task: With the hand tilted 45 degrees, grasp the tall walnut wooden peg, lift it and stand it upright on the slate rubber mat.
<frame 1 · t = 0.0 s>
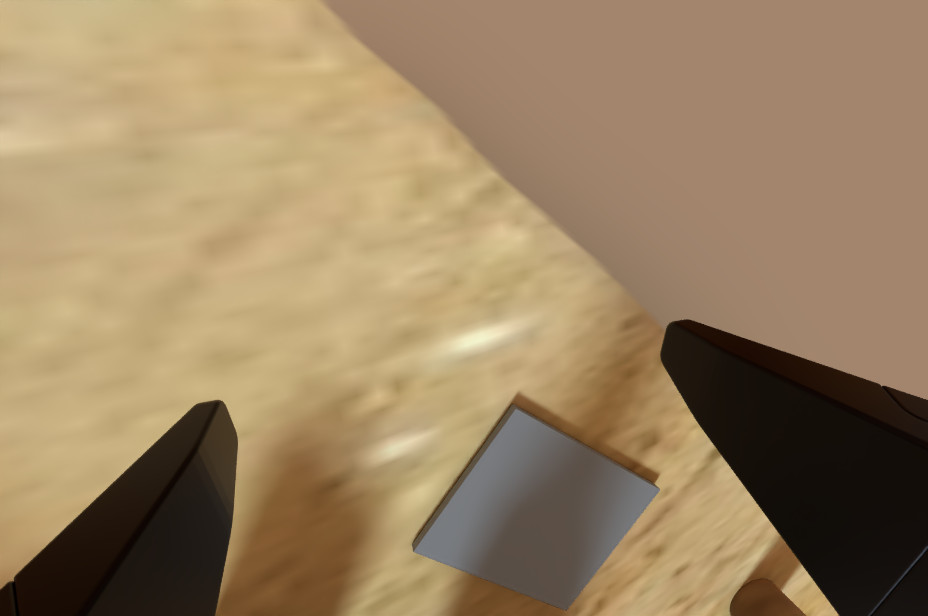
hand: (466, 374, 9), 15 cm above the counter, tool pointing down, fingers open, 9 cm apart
walnut peg: (752, 600, 38), on the counter
slate mat: (539, 512, 31), on the counter
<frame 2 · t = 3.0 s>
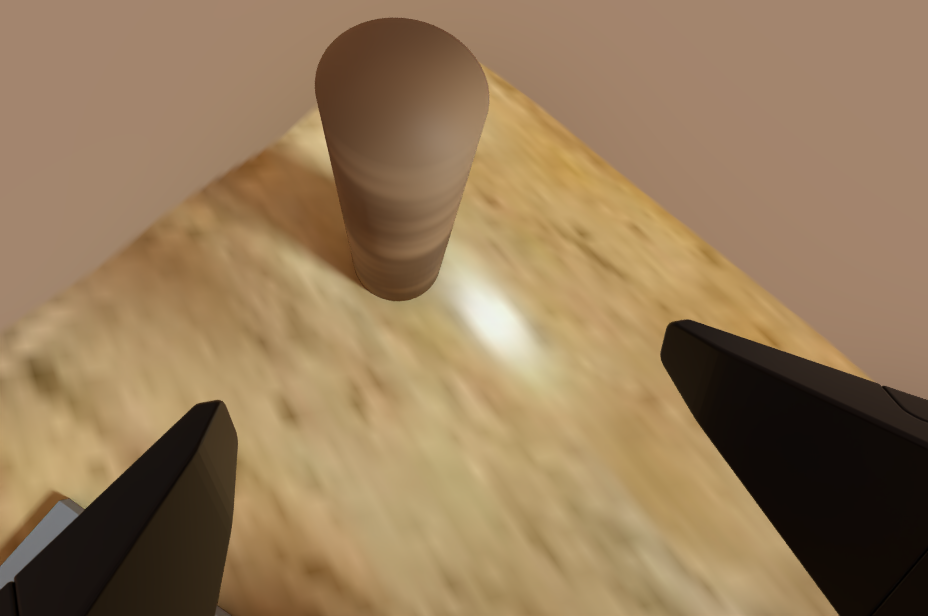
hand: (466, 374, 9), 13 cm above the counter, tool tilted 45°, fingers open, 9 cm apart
walnut peg: (397, 259, 24), on the counter
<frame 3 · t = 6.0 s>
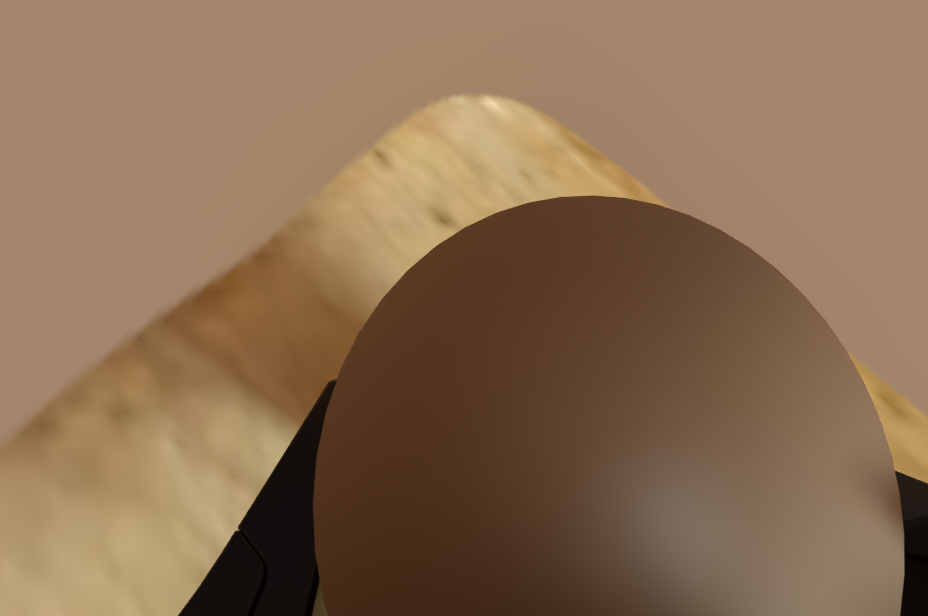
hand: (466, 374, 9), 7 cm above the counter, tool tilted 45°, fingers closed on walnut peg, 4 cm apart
walnut peg: (442, 438, 15), on the counter, touching gripper
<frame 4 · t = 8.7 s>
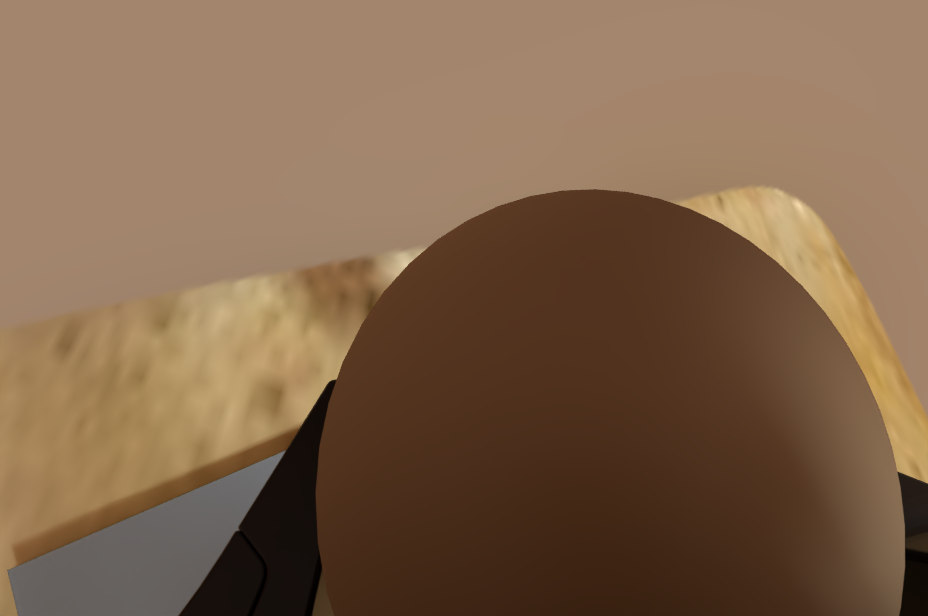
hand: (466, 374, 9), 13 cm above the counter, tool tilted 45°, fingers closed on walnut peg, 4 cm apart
walnut peg: (443, 436, 15), point 6 cm above the counter, touching gripper
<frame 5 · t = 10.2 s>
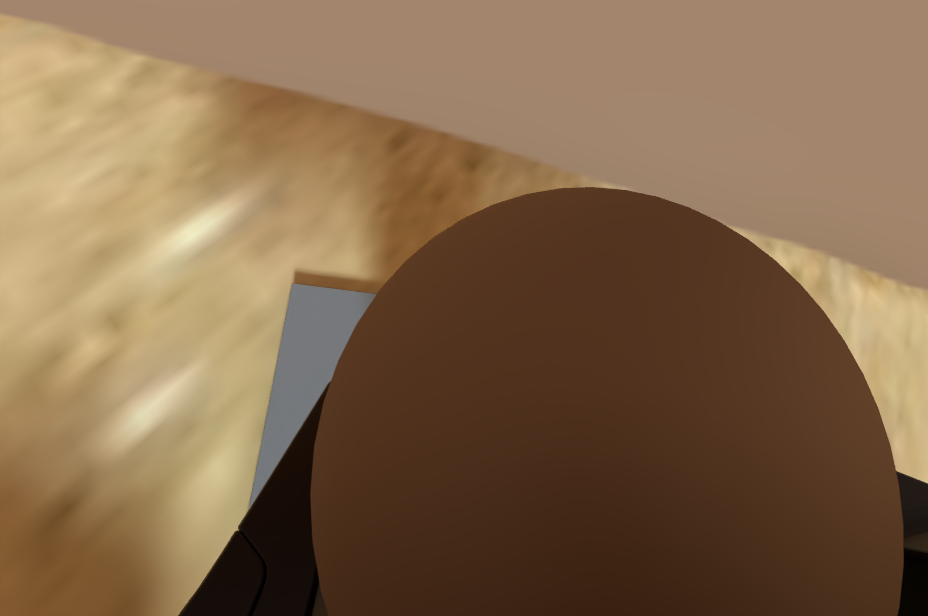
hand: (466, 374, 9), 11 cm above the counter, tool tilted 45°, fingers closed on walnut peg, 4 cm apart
walnut peg: (442, 436, 15), point 4 cm above the counter, touching gripper
slate mat: (431, 432, 19), on the counter
when the fingers open (8 cm above the counter, at t = 11.4 s): walnut peg drops 1 cm, resting on slate mat.
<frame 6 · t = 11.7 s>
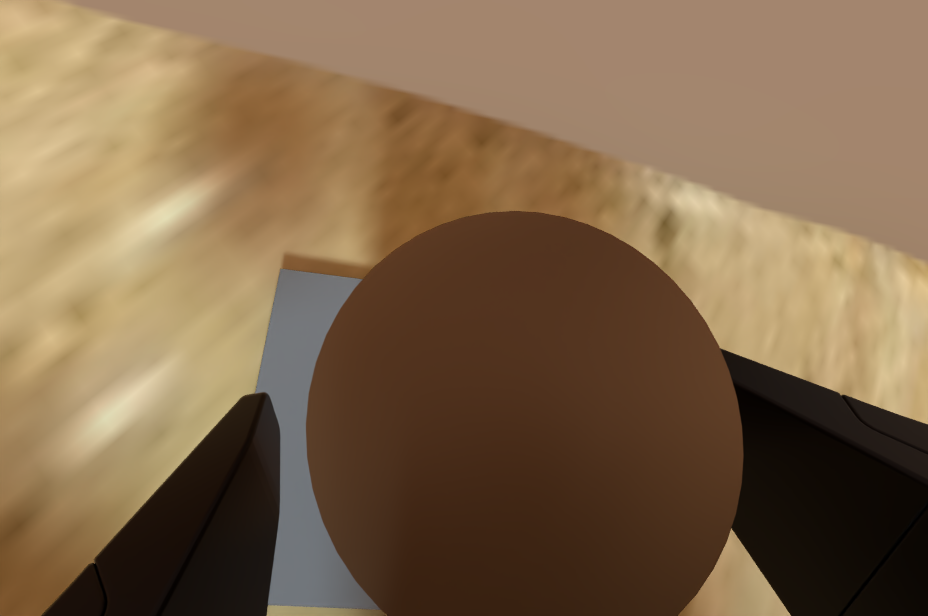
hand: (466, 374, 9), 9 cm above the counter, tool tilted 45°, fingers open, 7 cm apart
walnut peg: (439, 437, 16), point 1 cm above the counter, touching slate mat
slate mat: (437, 436, 17), on the counter
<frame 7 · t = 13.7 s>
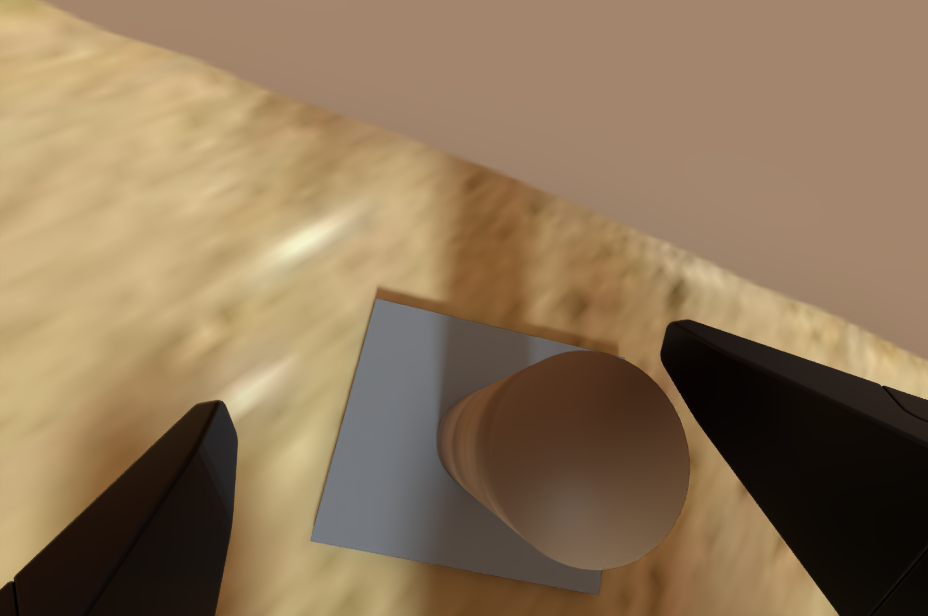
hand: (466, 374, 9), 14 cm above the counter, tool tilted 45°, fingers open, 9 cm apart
walnut peg: (483, 440, 22), point 1 cm above the counter, touching slate mat
slate mat: (480, 440, 22), on the counter
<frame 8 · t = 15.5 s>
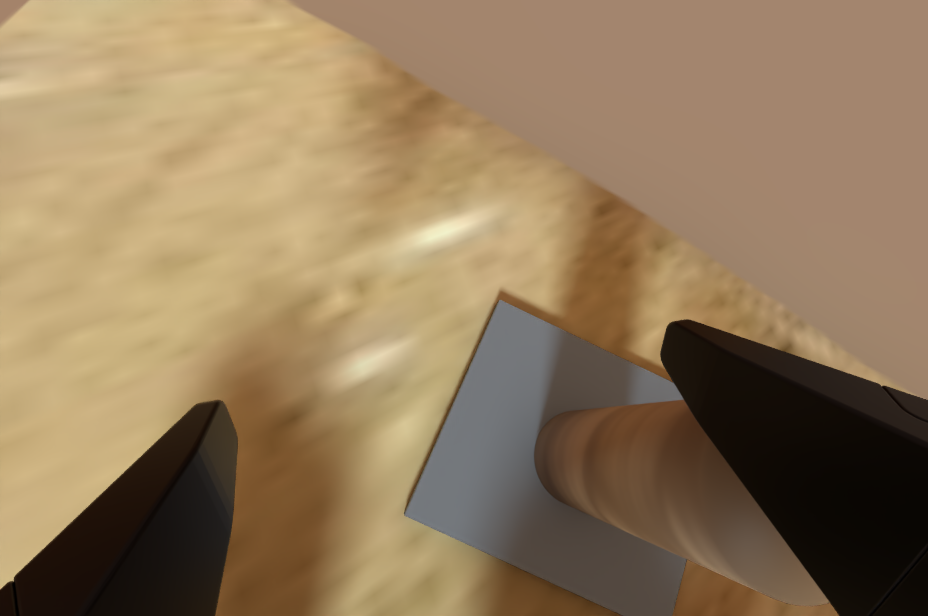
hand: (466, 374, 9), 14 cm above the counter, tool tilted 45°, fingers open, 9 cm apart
walnut peg: (578, 457, 22), point 1 cm above the counter, touching slate mat
slate mat: (573, 456, 23), on the counter
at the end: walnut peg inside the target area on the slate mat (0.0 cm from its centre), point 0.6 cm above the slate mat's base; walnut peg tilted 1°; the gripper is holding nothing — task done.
